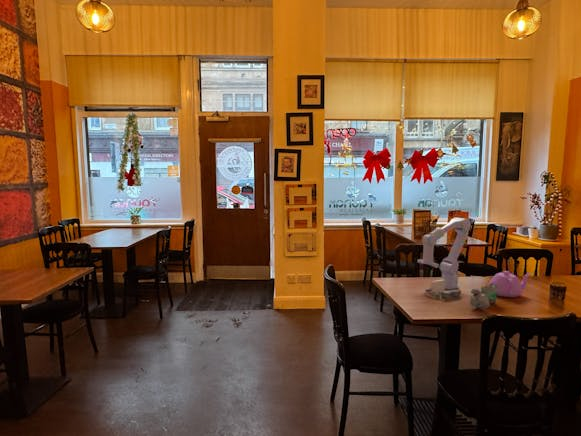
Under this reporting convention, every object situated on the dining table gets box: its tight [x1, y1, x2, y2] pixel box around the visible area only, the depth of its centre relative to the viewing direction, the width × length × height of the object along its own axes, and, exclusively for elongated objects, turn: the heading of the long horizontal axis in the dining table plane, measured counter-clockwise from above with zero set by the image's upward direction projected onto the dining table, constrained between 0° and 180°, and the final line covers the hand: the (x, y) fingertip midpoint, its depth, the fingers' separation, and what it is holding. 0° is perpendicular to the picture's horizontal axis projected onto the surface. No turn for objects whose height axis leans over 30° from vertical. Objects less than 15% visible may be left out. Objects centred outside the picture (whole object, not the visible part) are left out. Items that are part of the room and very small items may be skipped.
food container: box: [480, 283, 499, 306], centre depth 207 cm, size 12×6×10 cm, turn 129°
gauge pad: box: [425, 279, 445, 293], centre depth 223 cm, size 14×2×7 cm, turn 117°
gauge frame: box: [424, 288, 462, 302], centre depth 220 cm, size 16×14×4 cm
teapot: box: [488, 270, 532, 298], centre depth 223 cm, size 22×22×14 cm
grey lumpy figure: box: [469, 287, 491, 310], centre depth 196 cm, size 10×10×12 cm
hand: (426, 276), depth 231 cm, fingers closed
